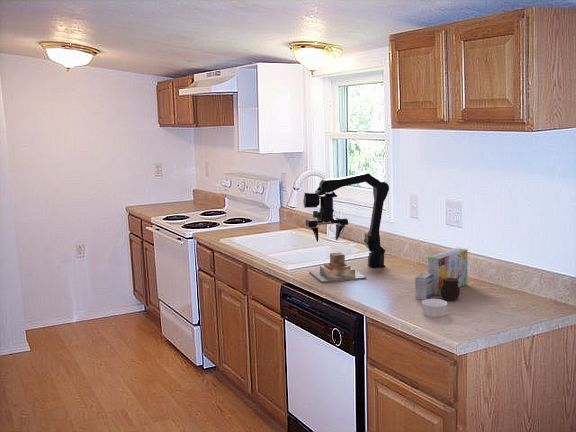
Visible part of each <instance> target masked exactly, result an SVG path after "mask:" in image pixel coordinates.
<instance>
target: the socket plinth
mask: <svg viewBox="0 0 576 432" xmlns="http://www.w3.org/2000/svg"><path fill="white" fill-rule="evenodd" d="M319 270H320V272H321V273H322V274H323V275H325V276H326V277H327V278H328V279H330V278H342V277H353V276H355V270H356V269H355V268H354V267H352V266H351V265H349V264H348V263H346V262H345V266H341V267H331V266H330V262H326V263H324V264H323V265H322V264H320V265H319Z"/></svg>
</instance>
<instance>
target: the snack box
mask: <svg viewBox="0 0 576 432" xmlns="http://www.w3.org/2000/svg"><path fill="white" fill-rule="evenodd" d="M427 266H428V267H427V270H428V271H427V273H430V274H433V295H435V296H441V292H440V290H441V287H442V285H443V279H444V278H447V277H451V278H457V277H458V276H460V274H462V275H461V276H460V277H459V278H458V287H459V289H460V288H462V287H464V286H467V285H468V248H462V247H461V248H459V247H455V248H452V249H449V250H445V251H442V252H440V253H436V254H434V255H430V256H428V257H427Z"/></svg>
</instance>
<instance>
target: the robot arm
mask: <svg viewBox="0 0 576 432" xmlns="http://www.w3.org/2000/svg"><path fill="white" fill-rule="evenodd" d="M361 183H366V184H367V185H369V186H371V188H372V195H373V204H372V205H373V206H372V213H371V218H370V226H369V230H368V232H364V239H363V243H364V246H365V247H366V248H367V249H368V251H369V253H368V256H367V266H368V267H370V268H373V269H374V268H375V269H376V268H385V267H386V265H385V252H386V250H385V249H384V248H383V247H382V246H381V237H380V236H381V235H380V229H381V221H382V215H383V208H384V203H385V200H386V199H387V196H388V193H389V191H390V185H389V184H388V183H387V182H386V181H383V180H379V179H377V178H376V177H374V176H373V175H371V174H370V173H368V172H361V173H359V174H354V175H348V176H344V177H339V178H323V179H321V180H320V181H319V185H318V187H317V189H316V190H315V191H314V192H304V194H303V200H302V201H303V208H305V209H306V208H318V206H319V205H320V207H319V211H318V210H313V211H312V217H313V218H312V219H311V218H310V219H306V220H305V226H306V227H308V228H309V229H311V230H312V232H313V235H314V237H315V240H316V242H317V243H319V227H318V226H320V225H334V224H335V240H336V241H338V240H339V237H340V235H341V233H342V231H343V229H344V228H345V227H346V226H348V225H349V220H348V218H346V217H345V216H342V217H341V216H340V217H336V218H335V219H334V211H335V210H334V198H337V197H338V195H337V194H336V193H335V191H336V190H338V189H340V188H343V187H349V186H353V185H357V184H361Z"/></svg>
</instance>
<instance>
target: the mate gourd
mask: <svg viewBox="0 0 576 432" xmlns="http://www.w3.org/2000/svg"><path fill="white" fill-rule="evenodd" d="M461 275H462V274H460V276H461ZM460 276H458V277H457V278H451V277H447V278H444V279H443V285H442V287H441V290H440V292H441V295H440V296H441V298H442V300H444V301H446V302H447V301H449V302H453V301H454V302H455V301H457V299H459V297H460V294H461V290H460V288H459V287H458V278H459V277H460Z"/></svg>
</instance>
